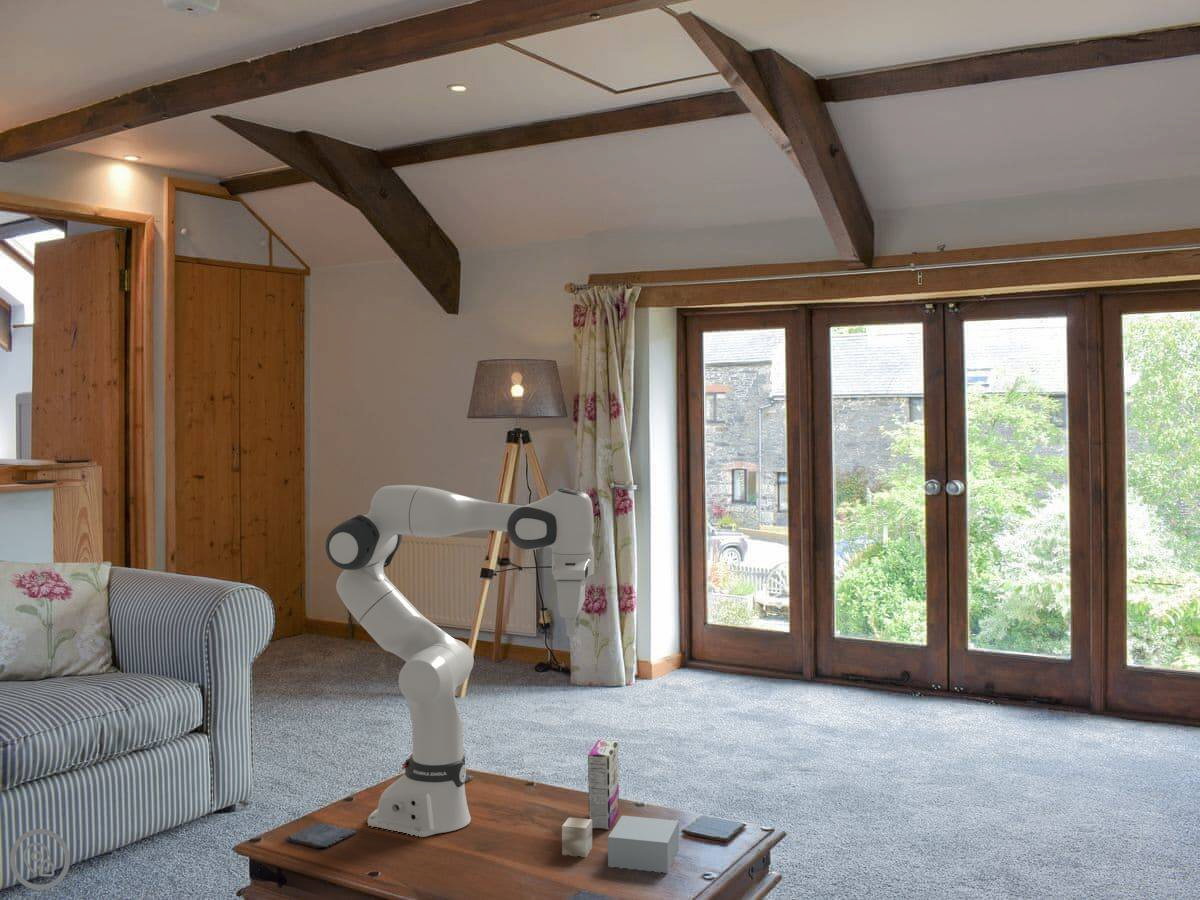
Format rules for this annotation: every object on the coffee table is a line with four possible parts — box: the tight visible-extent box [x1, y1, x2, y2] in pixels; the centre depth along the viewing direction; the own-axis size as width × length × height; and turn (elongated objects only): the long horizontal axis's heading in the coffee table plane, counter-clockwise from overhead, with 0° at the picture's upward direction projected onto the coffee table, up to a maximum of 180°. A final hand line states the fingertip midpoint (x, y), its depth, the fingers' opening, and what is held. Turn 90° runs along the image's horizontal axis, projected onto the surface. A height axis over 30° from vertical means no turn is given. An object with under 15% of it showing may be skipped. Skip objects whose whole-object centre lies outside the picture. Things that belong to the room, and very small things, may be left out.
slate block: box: [607, 815, 680, 874], centre depth 219 cm, size 12×12×6 cm
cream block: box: [561, 817, 593, 858], centre depth 223 cm, size 5×5×6 cm
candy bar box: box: [587, 739, 620, 831], centre depth 240 cm, size 11×5×16 cm, turn 168°
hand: (572, 631), depth 229 cm, fingers open, 8 cm apart
